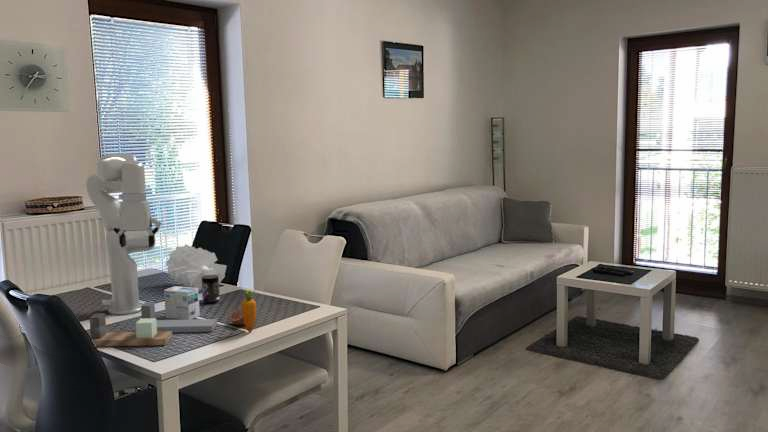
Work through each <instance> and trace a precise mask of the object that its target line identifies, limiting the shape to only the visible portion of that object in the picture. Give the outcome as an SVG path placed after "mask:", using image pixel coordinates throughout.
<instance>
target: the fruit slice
mask: <svg viewBox="0 0 768 432" xmlns="http://www.w3.org/2000/svg"><path fill="white" fill-rule="evenodd" d="M228 320H229V321H230V322H231V323H232V324H234V325H237V326H238V325H239V326H242V325H245V324H244V320H243V316H242V311H240V310H238V309H235V308H233V310H232V311H231V312H230V314H229V317H228Z"/></svg>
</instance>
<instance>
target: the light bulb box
mask: <svg viewBox="0 0 768 432" xmlns="http://www.w3.org/2000/svg"><path fill="white" fill-rule="evenodd" d="M199 294H200V293H199V291H198V288H195V287H192V288H190V287H189V286H188V287H187V286H178V285H177V286H176V285H174V286H172V287H168V288H166V289H164V290H163V295H164V296H163V297H164V309H165V311H164V312H165V319H172V320H192V319H195V318H197V317H200V316H201V313H200V299H199V297H200V296H199Z"/></svg>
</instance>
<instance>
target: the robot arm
mask: <svg viewBox="0 0 768 432" xmlns="http://www.w3.org/2000/svg"><path fill="white" fill-rule="evenodd" d="M85 185H86V186H85V189H86V192H87V195H88V197H89V199H90V201H91V202H92V204H93V205H94V207H95V208H96V209H97V211H98V213H99V216H100V218H101V221H102V224H103V227H104V229H105V231H106V232H107V233H106V234H105V235H106V236H105V245H106V249H107V254H108V260H109V270H110V271H109V272H110V282H111V283H110V286H111V299H102V301H101V305H102V306H103V307H109V308H108V313H109V314H112V315H129V314H135V313H139V312H141V306H142V305H143V304H144V303H140V294H139V278H138V264H137V261H136V260H135V259H133V257H131V256H130V254H133V253H141V252H148V251H151V250H153V249H154V248H155V246H156V236H155V235H156V233H157V232H159V230H160V228H161V226H162V223H163V222H161V221H159V220H158V219H155V218H153V217H152V212H151V208H150V203H149V201H148V200H147V192H146V191H147V189H146V173H145V165H144V163H143V162H141V161H140V160H138V158H137V157H136V156H135V155H134V154H132V153H110V154H105V155H103V156H101V157H100V158H98V161H97V173H93V174H91V175H88V177H87V178H86V182H85ZM110 194H118V199H120V200H122V201H121V202H120V201H119V200H118V199H117V198H115V196H112V195H110ZM153 225H155V227H154V228H152V227H153Z"/></svg>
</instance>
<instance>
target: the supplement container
mask: <svg viewBox="0 0 768 432" xmlns="http://www.w3.org/2000/svg"><path fill="white" fill-rule="evenodd" d="M201 280H202V290H201V293H202V294H201V295H202V296H201V297H202V303H204V304H206V305H213V304H217V303H219V302H220V300H221V299H220V297H221V296H220V283H219V276H218V275H205V276H202V277H201Z"/></svg>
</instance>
